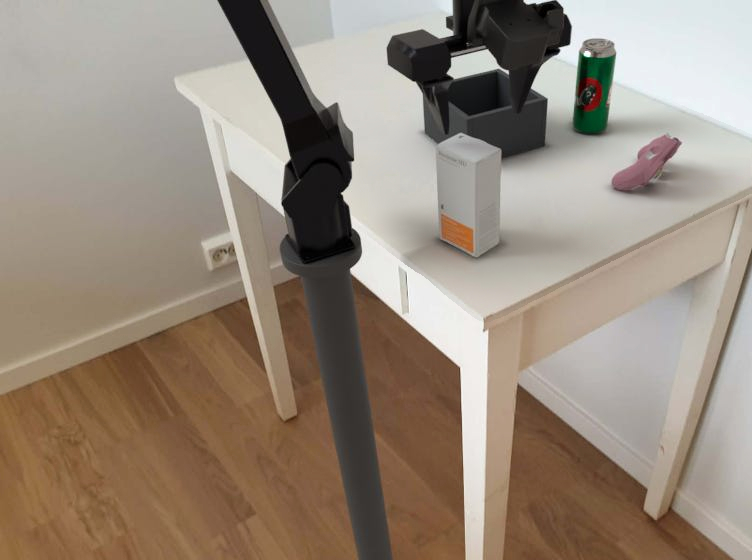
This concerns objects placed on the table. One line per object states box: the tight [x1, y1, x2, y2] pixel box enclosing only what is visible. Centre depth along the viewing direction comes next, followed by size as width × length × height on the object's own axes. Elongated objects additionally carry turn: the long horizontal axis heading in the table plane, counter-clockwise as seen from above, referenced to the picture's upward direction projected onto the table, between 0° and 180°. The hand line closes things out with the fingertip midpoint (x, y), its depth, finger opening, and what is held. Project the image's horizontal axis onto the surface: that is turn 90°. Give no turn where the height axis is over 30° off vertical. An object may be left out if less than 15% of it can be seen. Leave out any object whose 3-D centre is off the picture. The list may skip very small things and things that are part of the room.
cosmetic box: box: [435, 133, 502, 258], centre depth 81 cm, size 6×4×12 cm
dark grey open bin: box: [422, 68, 549, 159], centre depth 102 cm, size 13×13×7 cm
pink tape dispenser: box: [611, 132, 683, 191], centre depth 93 cm, size 10×5×7 cm, turn 147°
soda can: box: [571, 37, 617, 135], centre depth 102 cm, size 5×5×12 cm
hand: (481, 123), depth 78 cm, fingers open, 9 cm apart
